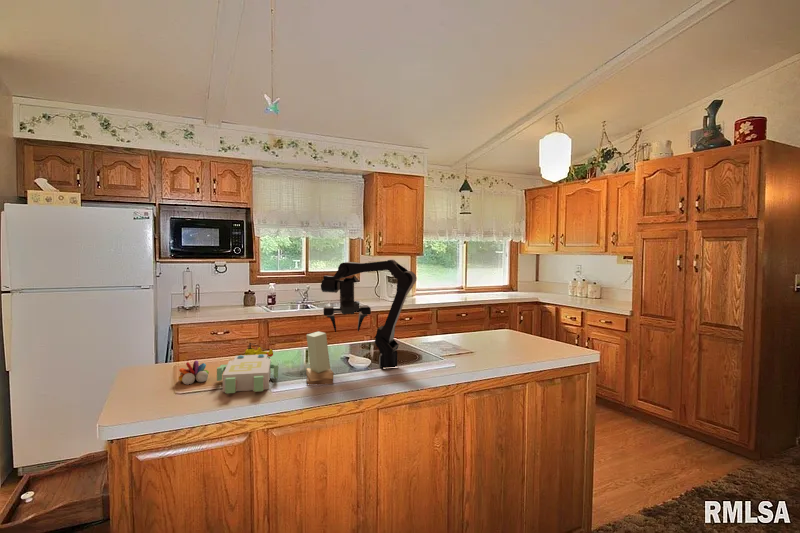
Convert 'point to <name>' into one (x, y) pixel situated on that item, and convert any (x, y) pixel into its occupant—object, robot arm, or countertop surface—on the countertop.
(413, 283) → the robot arm
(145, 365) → the countertop surface
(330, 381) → the lower slab
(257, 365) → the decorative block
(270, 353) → the toy helicopter
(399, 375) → the countertop surface
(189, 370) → the rainbow peg wheeled toy
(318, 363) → the pillar
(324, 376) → the upper slab
